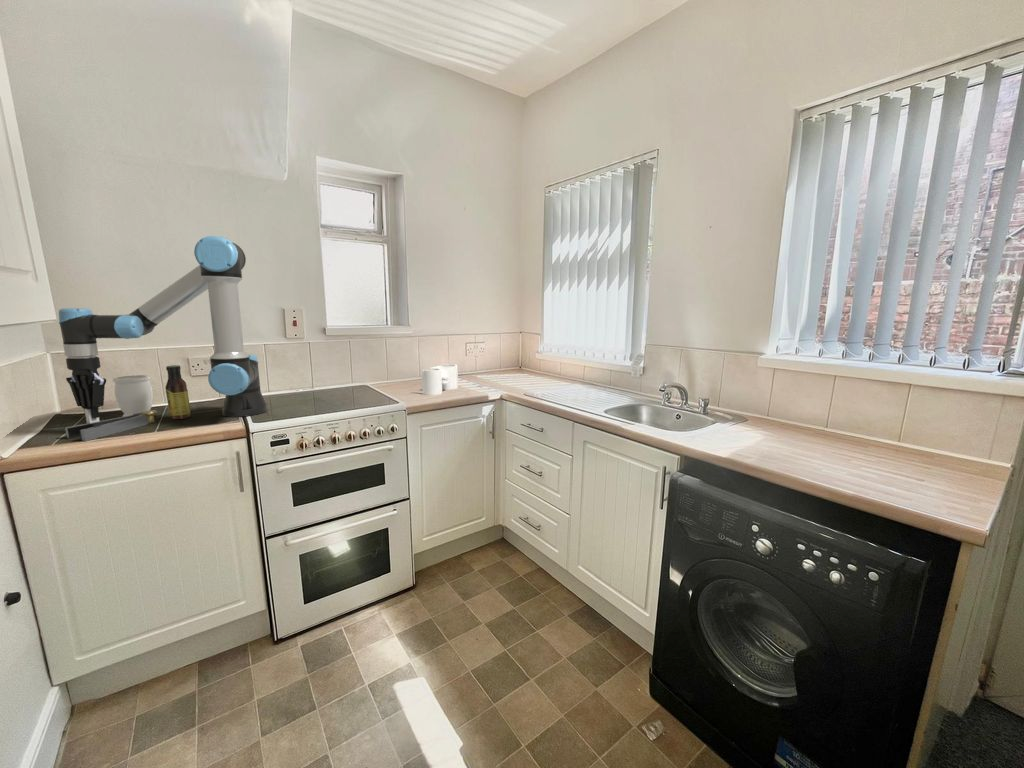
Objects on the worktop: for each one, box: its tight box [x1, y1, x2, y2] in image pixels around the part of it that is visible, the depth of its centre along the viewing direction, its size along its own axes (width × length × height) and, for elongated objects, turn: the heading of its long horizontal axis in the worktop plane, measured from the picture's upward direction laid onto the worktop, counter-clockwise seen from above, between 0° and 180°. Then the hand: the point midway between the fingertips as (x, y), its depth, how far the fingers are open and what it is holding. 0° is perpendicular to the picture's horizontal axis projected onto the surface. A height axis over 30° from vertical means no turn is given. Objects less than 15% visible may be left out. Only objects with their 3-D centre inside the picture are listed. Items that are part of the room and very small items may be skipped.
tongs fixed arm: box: [80, 414, 155, 442], centre depth 139 cm, size 22×3×4 cm, turn 171°
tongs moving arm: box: [64, 409, 158, 440], centre depth 140 cm, size 24×4×4 cm, turn 156°
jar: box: [112, 374, 154, 417], centre depth 156 cm, size 11×10×15 cm
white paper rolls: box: [421, 363, 459, 396], centre depth 210 cm, size 25×10×12 cm, turn 160°
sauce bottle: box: [165, 364, 192, 420], centre depth 154 cm, size 6×6×20 cm
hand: (94, 427), depth 137 cm, fingers closed
